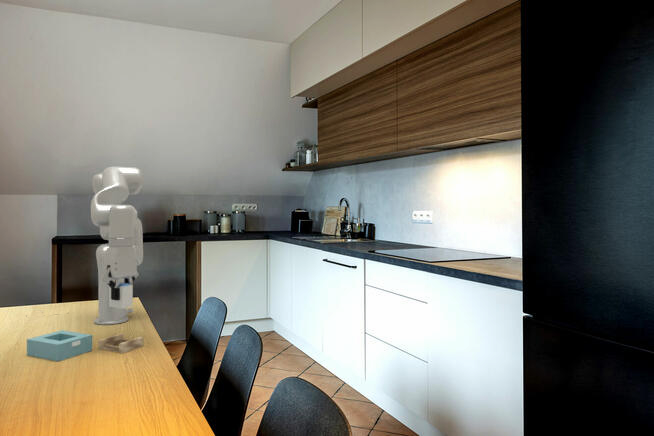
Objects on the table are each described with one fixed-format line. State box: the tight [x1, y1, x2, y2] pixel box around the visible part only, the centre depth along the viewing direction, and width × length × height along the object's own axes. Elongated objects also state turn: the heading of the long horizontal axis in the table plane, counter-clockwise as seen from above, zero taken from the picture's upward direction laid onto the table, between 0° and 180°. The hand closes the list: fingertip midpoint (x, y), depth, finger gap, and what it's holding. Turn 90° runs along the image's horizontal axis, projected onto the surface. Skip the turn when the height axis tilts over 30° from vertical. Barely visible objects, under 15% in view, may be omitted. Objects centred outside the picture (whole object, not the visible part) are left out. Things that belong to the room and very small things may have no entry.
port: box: [26, 329, 93, 362], centre depth 147 cm, size 12×14×5 cm
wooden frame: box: [98, 333, 144, 354], centre depth 153 cm, size 9×10×3 cm
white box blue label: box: [109, 282, 134, 309], centre depth 153 cm, size 4×6×8 cm, turn 67°
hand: (121, 297), depth 153 cm, fingers closed on white box blue label, 4 cm apart
